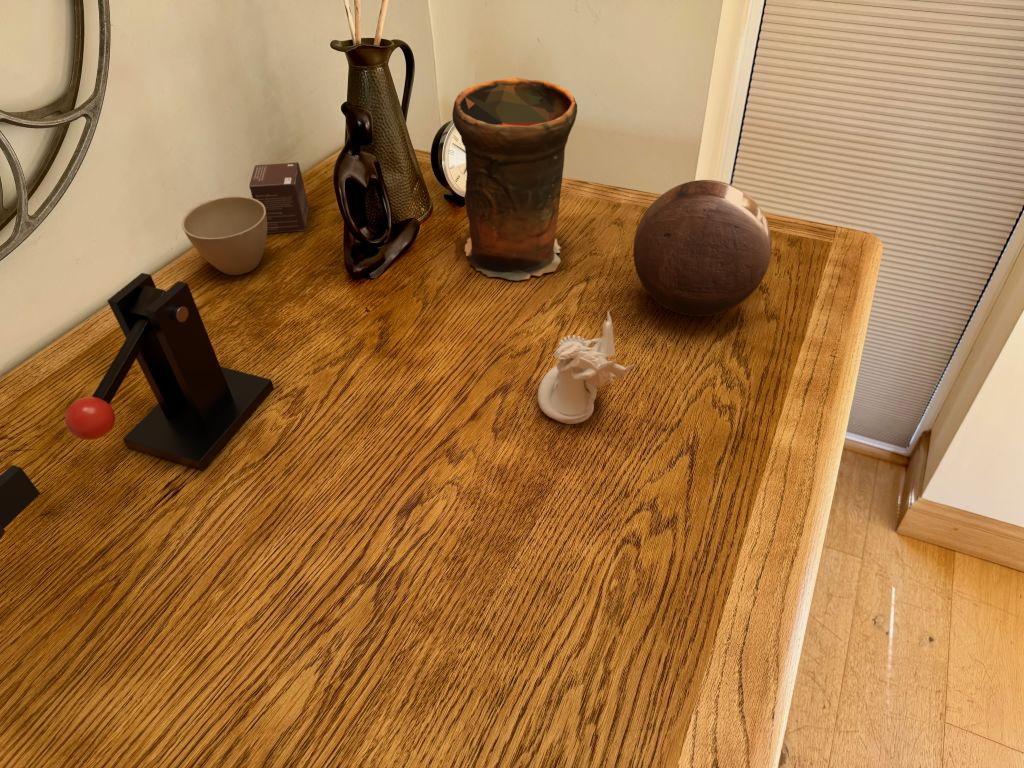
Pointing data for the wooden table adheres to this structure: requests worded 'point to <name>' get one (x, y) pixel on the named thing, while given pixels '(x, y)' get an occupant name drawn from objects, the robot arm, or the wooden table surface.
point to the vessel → (514, 173)
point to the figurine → (579, 376)
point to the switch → (112, 376)
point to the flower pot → (228, 232)
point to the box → (281, 196)
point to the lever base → (185, 380)
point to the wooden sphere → (702, 248)
